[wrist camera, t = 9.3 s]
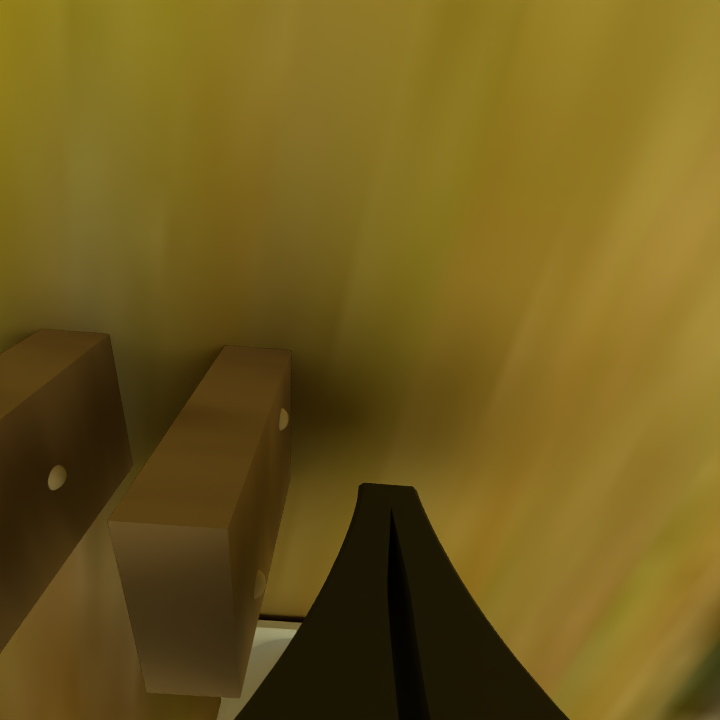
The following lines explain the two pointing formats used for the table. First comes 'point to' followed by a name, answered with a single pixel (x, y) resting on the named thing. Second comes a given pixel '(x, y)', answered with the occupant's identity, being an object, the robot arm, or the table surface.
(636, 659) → the table surface
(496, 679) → the robot arm
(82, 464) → the tile
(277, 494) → the tile
